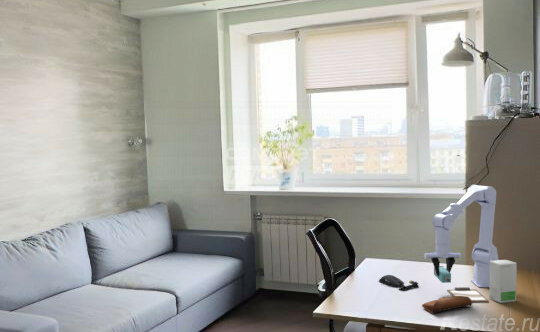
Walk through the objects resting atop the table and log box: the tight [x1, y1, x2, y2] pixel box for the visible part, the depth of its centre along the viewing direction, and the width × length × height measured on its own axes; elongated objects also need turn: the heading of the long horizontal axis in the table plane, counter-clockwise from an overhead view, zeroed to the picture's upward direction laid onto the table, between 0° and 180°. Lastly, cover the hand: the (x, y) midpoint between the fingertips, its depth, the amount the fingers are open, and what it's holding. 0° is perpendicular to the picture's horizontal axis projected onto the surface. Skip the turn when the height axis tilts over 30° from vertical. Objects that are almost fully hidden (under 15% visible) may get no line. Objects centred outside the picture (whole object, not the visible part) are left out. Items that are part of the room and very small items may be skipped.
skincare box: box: [488, 259, 518, 304], centre depth 208 cm, size 8×7×16 cm
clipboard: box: [447, 286, 490, 303], centre depth 213 cm, size 14×12×2 cm
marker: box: [433, 265, 452, 284], centre depth 214 cm, size 15×4×4 cm, turn 178°
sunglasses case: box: [421, 295, 473, 315], centre depth 200 cm, size 18×7×7 cm
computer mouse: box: [378, 274, 419, 292], centre depth 232 cm, size 12×17×4 cm
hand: (442, 275), depth 215 cm, fingers closed on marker, 4 cm apart
